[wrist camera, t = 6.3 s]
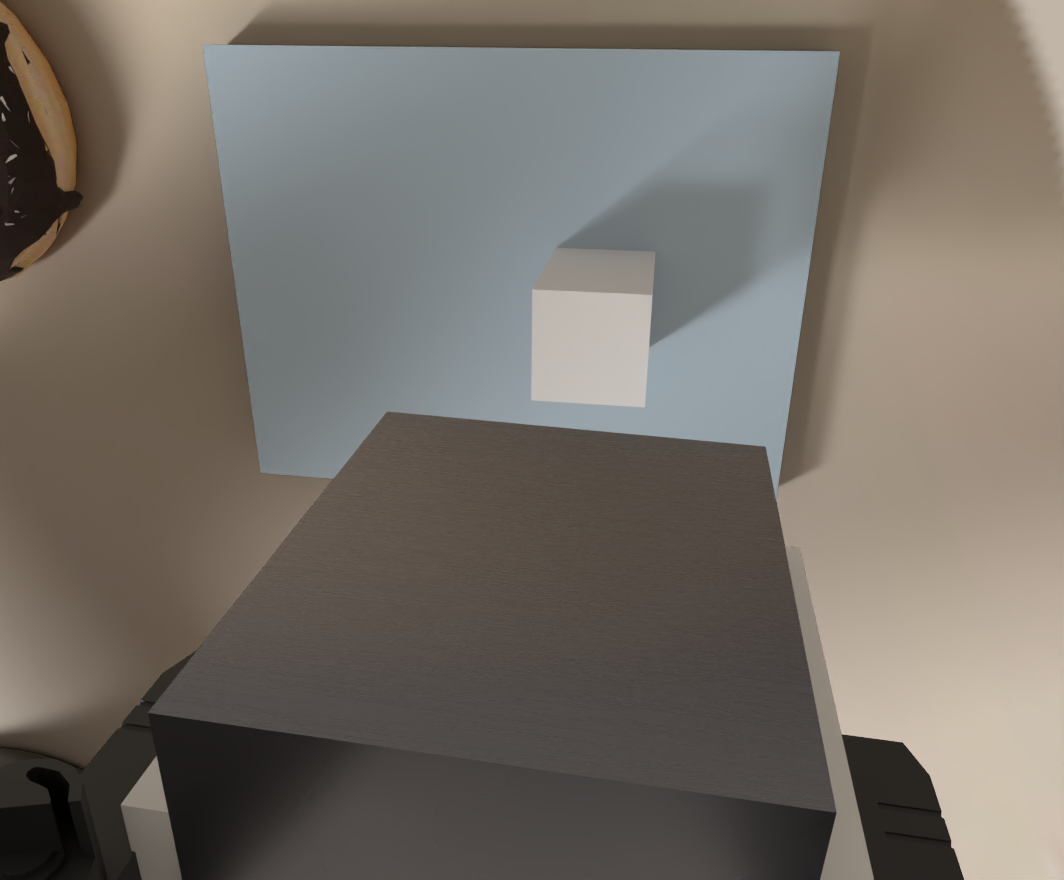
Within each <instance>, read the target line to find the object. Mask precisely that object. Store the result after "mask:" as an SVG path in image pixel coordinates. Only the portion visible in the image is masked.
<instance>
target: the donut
mask: <svg viewBox="0 0 1064 880" xmlns="http://www.w3.org/2000/svg"><path fill="white" fill-rule="evenodd" d="M76 149H77V142H76V137H75V133H74V128H73V124H72V119H71V115H70V110H69V106H68V103H67V101H66V99H65V97H64V95H63V93H62V91H61V88H60V86H59V84H58V82H57V80H56V78H55V75H54V73H53V71H52V69H51V67H50V65H49V62H48V61H47V59H46V58H45V57H44V55H43V54H42V52H41V51H40V49H39V48H38V47H37V45H36V44H35V42H34V41H33V39H32V38H31V36H30V35H29V34H28V32H27V31H26V29H25V28H24V27H23V25H22V24H21V23H20V21H19V20H18V19H17V17H16V16H15V14H13V13H12V12H11V11H10V10H9V9H8V8H7V7H6V6H5V5H4V4H3V3H2V2H1V1H0V281H2V280H5V279H9V278H12V277H15V276H18V275H19V274H21V273H22V272H23V271H24V270H25V269H26V268H28V267H29V266H30V265H31V264H32V263H34V262H35V261H36V260H37V259H38V258H40V257H41V256H42V255H43V254H44V253H45V252H46V251H47V250H48V248H49V247H50V245H51V244H52V243H53V241H54V240H55V239H56V237H57V235H58V233H59V231H60V229H61V227H62V226H63V224H64V222H65V220H66V218H67V215H68V211H70V210H72V209H75V208H77V207H78V206H79V204H80V202H81V200H82V198H83V196H82V195H81V194H80V193H78V192H76V191H74V189H75V185H76Z"/></svg>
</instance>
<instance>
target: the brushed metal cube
mask: <svg viewBox="0 0 1064 880" xmlns="http://www.w3.org/2000/svg"><path fill="white" fill-rule="evenodd" d="M148 717H149V722H150V726H151V731H152V736H153V741H154V746H155V751H156V755H157V760H158V765H159V770H160V775H161V780H162V785H163V789H164V794H165V799H166V804H167V809H168V814H169V819H170V823H171V828H172V833H173V838H174V843H175V848H176V853H177V857H178V862H179V867H180V872H181V877H182V880H820V878H821V874H822V870H823V866H824V862H825V858H826V854H827V850H828V846H829V842H830V838H831V834H832V830H833V826H834V822H835V818H836V814H837V812H836V807H835V801H834V796H833V791H832V786H831V781H830V776H829V770H828V765H827V760H826V755H825V750H824V745H823V740H822V734H821V729H820V724H819V719H818V714H817V709H816V704H815V698H814V693H813V688H812V683H811V678H810V673H809V667H808V662H807V657H806V652H805V647H804V642H803V637H802V631H801V626H800V621H799V616H798V611H797V606H796V601H795V595H794V590H793V585H792V580H791V575H790V570H789V564H788V559H787V554H786V549H785V544H784V539H783V534H782V528H781V523H780V518H779V513H778V508H777V503H776V497H775V492H774V487H773V482H772V477H771V472H770V467H769V461H768V456H767V451H766V447H765V446H755V445H744V444H733V443H722V442H711V441H701V440H690V439H679V438H668V437H658V436H647V435H636V434H625V433H614V432H604V431H593V430H582V429H571V428H560V427H550V426H539V425H528V424H517V423H507V422H496V421H485V420H474V419H463V418H453V417H442V416H431V415H420V414H409V413H399V412H388V411H387V412H386V413H385V415H384V416H383V417H382V418H381V420H380V421H379V422H378V423H377V425H376V426H375V427H374V428H373V430H372V431H371V432H370V434H369V435H368V436H367V437H366V439H365V440H364V441H363V442H362V444H361V445H360V446H359V447H358V449H357V450H356V451H355V452H354V454H353V455H352V456H351V457H350V459H349V460H348V461H347V462H346V464H345V465H344V466H343V468H342V469H341V470H340V471H339V473H338V474H337V475H336V476H335V478H334V479H333V480H332V481H331V483H330V484H329V485H328V486H327V488H326V489H325V490H324V491H323V493H322V494H321V495H320V496H319V498H318V499H317V500H316V501H315V503H314V504H313V505H312V507H311V508H310V509H309V510H308V512H307V513H306V514H305V515H304V517H303V518H302V519H301V520H300V522H299V523H298V524H297V525H296V527H295V528H294V529H293V530H292V532H291V533H290V534H289V535H288V537H287V538H286V539H285V541H284V542H283V543H282V544H281V546H280V547H279V548H278V549H277V551H276V552H275V553H274V554H273V556H272V557H271V558H270V559H269V561H268V562H267V563H266V564H265V566H264V567H263V568H262V569H261V571H260V572H259V573H258V574H257V576H256V577H255V578H254V580H253V581H252V582H251V583H250V585H249V586H248V587H247V588H246V590H245V591H244V592H243V593H242V595H241V596H240V597H239V598H238V600H237V601H236V602H235V603H234V605H233V606H232V607H231V608H230V610H229V611H228V612H227V614H226V615H225V616H224V617H223V619H222V620H221V621H220V622H219V624H218V625H217V626H216V627H215V629H214V630H213V631H212V632H211V634H210V635H209V636H208V637H207V639H206V640H205V641H204V642H203V644H202V645H201V646H200V647H199V649H198V650H197V651H196V653H195V654H194V655H193V656H192V658H191V659H190V660H189V661H188V663H187V664H186V665H185V666H184V668H183V669H182V670H181V671H180V673H179V674H178V675H177V676H176V678H175V679H174V680H173V681H172V683H171V684H170V685H169V687H168V688H167V689H166V690H165V692H164V693H163V694H162V695H161V697H160V698H159V699H158V700H157V702H156V703H155V704H154V705H153V707H152V708H151V709H150V710H149V712H148Z"/></svg>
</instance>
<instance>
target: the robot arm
mask: <svg viewBox="0 0 1064 880" xmlns="http://www.w3.org/2000/svg"><path fill="white" fill-rule="evenodd" d="M785 549H786V554H787V559H788V564H789V570H790V575H791V580H792V585H793V590H794V595H795V601H796V606H797V611H798V616H799V621H800V626H801V631H802V637H803V642H804V647H805V652H806V657H807V662H808V667H809V673H810V678H811V683H812V688H813V693H814V698H815V704H816V709H817V714H818V719H819V724H820V729H821V734H822V740H823V745H824V750H825V755H826V760H827V765H828V770H829V776H830V781H831V786H832V791H833V796H834V801H835V807H836V812H837V814H836V818H835V822H834V826H833V830H832V834H831V838H830V842H829V846H828V850H827V854H826V858H825V862H824V866H823V870H822V874H821V878H820V880H964V878H963V875H962V872H961V869H960V866H959V863H958V860H957V857H956V854H955V851H954V849H953V848H951V839H950V836H949V833H948V830H947V827H946V823H945V820H944V818H942V817H941V808H940V805H939V802H938V799H937V796H936V793H935V790H934V787H933V784H932V781H931V778H930V775H929V774H928V773H927V772H926V770H925V769H924V768H923V767H922V766H921V764H920V763H919V762H918V761H917V760H916V758H915V757H914V756H913V755H912V753H911V752H910V751H909V750H908V749H907V747H906V746H905V745H904V744H903V743H902V742H894V741H887V740H879V739H872V738H864V737H856V736H849V735H842V734H841V730H840V725H839V721H838V717H837V712H836V708H835V703H834V699H833V694H832V690H831V685H830V681H829V676H828V672H827V667H826V663H825V658H824V654H823V649H822V645H821V641H820V636H819V632H818V627H817V623H816V618H815V614H814V609H813V605H812V600H811V596H810V591H809V587H808V582H807V578H806V574H805V569H804V565H803V560H802V556H801V551H800V548H795V547H785ZM195 653H196V651H195V652H194V653H192V654H191V655H189V656H188V657H186V658H185V659H183V660H182V661H180V662H179V663H177V664H176V665H174V666H173V667H171V668H170V669H168V670H167V671H165V672H164V673H163V674H162V675H161V676H160V677H159V679H158V680H157V681H156V682H155V683H154V685H153V686H152V687H151V688H150V690H149V691H148V692H147V693H146V694H145V696H144V697H143V698H142V699H141V703H140V705H139V706H136V707H135V708H134V709H133V710H132V712H131V713H130V714H129V715H128V716H127V718H126V719H125V720H124V721H123V723H122V727H121V729H119V728H118V729H117V730H116V731H115V732H114V734H113V735H112V736H111V737H110V738H109V740H108V741H107V742H106V743H105V745H104V746H103V747H102V748H101V749H100V751H99V752H98V753H97V754H96V756H95V757H94V758H93V759H92V760H91V762H90V763H89V764H88V765H87V767H86V768H85V769H84V770H81V769H78V768H76V767H74V766H72V765H69V764H67V763H64V762H62V761H60V760H56V759H53V758H50V757H47V756H43V755H39V754H36V753H31V752H26V751H21V750H15V749H5V748H0V880H182V877H181V872H180V867H179V862H178V857H177V853H176V848H175V843H174V838H173V833H172V828H171V823H170V819H169V814H168V809H167V804H166V799H165V794H164V789H163V785H162V780H161V775H160V770H159V765H158V760H157V755H156V751H155V746H154V741H153V736H152V731H151V726H150V722H149V717H148V712H149V710H150V709H151V708H152V707H153V705H154V704H155V703H156V702H157V700H158V699H159V698H160V697H161V695H162V694H163V693H164V692H165V690H166V689H167V688H168V687H169V685H170V684H171V683H172V681H173V680H174V679H175V678H176V676H177V675H178V674H179V673H180V671H181V670H182V669H183V668H184V666H185V665H186V664H187V663H188V661H189V660H190V659H191V658H192V656H193V655H194V654H195Z"/></svg>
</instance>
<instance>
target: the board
mask: <svg viewBox="0 0 1064 880" xmlns="http://www.w3.org/2000/svg"><path fill="white" fill-rule="evenodd" d="M203 53H204V60H205V67H206V75H207V82H208V90H209V97H210V104H211V112H212V119H213V127H214V134H215V141H216V149H217V156H218V164H219V171H220V178H221V186H222V193H223V201H224V208H225V215H226V223H227V230H228V238H229V245H230V252H231V260H232V267H233V275H234V282H235V289H236V297H237V304H238V312H239V319H240V326H241V334H242V341H243V349H244V356H245V363H246V371H247V378H248V386H249V393H250V400H251V408H252V415H253V423H254V430H255V437H256V445H257V452H258V460H259V467H260V473H264V474H277V475H290V476H303V477H316V478H329V479H334V478H335V476H336V475H337V474H338V473H339V471H340V470H341V469H342V468H343V466H344V465H345V464H346V462H347V461H348V460H349V459H350V457H351V456H352V455H353V454H354V452H355V451H356V450H357V449H358V447H359V446H360V445H361V444H362V442H363V441H364V440H365V439H366V437H367V436H368V435H369V434H370V432H371V431H372V430H373V428H374V427H375V426H376V425H377V423H378V422H379V421H380V420H381V418H382V417H383V416H384V415H385V413H386V412H387V411H388V412H399V413H409V414H420V415H431V416H442V417H453V418H463V419H474V420H485V421H496V422H507V423H517V424H528V425H539V426H550V427H560V428H571V429H582V430H593V431H604V432H614V433H625V434H636V435H647V436H658V437H668V438H679V439H690V440H701V441H711V442H722V443H733V444H744V445H755V446H765V447H766V451H767V456H768V461H769V467H770V472H771V477H772V482H773V487H774V492H775V497H776V498H777V491H778V484H779V477H780V470H781V463H782V456H783V449H784V442H785V435H786V428H787V421H788V414H789V407H790V400H791V393H792V386H793V379H794V372H795V365H796V358H797V351H798V344H799V337H800V330H801V323H802V316H803V308H804V301H805V294H806V287H807V280H808V273H809V266H810V259H811V252H812V245H813V238H814V231H815V224H816V217H817V210H818V203H819V196H820V189H821V182H822V175H823V168H824V161H825V154H826V147H827V140H828V133H829V126H830V119H831V112H832V105H833V98H834V91H835V84H836V77H837V70H838V63H839V56H840V51H774V50H680V49H585V48H491V47H397V46H303V45H203Z"/></svg>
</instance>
